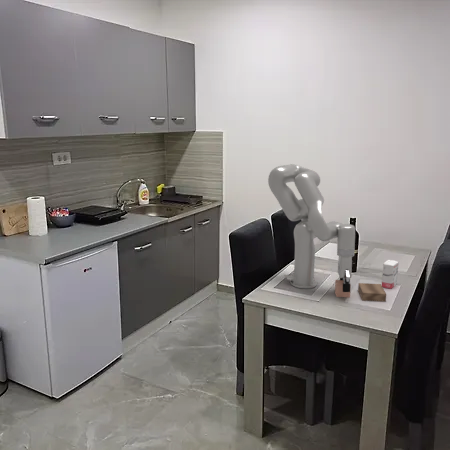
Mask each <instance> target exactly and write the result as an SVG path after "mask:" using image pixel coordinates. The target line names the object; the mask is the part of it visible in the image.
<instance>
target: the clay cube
mask: <svg viewBox="0 0 450 450" xmlns="http://www.w3.org/2000/svg"><path fill="white" fill-rule="evenodd" d="M334 283H335V285H334V293H335V297H336V298H351V288H352V287H351V286H352V285H351V283H350V292H343V283H344V282H343V280H340V279H335V282H334Z"/></svg>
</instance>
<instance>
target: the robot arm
mask: <svg viewBox="0 0 450 450" xmlns="http://www.w3.org/2000/svg"><path fill="white" fill-rule="evenodd" d="M267 180H268V181H267V182H268V184H267V185H268V186H269V190H270V192H271V193H272V194H273V196H274V197H275V199H276V200H277V202H278V204H279V206H280V207H281V209H282V211H283V212H284V215H285V216H286V217H287V219H288V220H290V221H291V222H297V221H300V220H301V221H300V222H298V223H297V224H296V225H295V227H294V229H293V239H294V265H293V268H294V269H293V272H292V274H284V280H287V281H290V285H291V286H292V287H295V288H297V289H313V288H315V287H317V284H318V282H317V281H316V280H315V279H314V277H315V259H316V257H315V255H316V247H315V246H316V245H315V242H314V239H315V238H317V239H318V240H319V241H321V242H329V241H330V240H334V239H337V242H336V243H337V244H336V249H337V250H336V256H338V258H337V259H338V261H337V274H338V278H339V280H343V282H344V283H343V292H350V293H351V290H350V284H351V278H352V273H353V272H352V271H353V269H352V267H353V260H352V259H353V257H355V250H356V249H355V248H356V247H355V246H356V244H355V243H356V227H355V225H354V224H349V223H342V222H337V221H329V222H327V223H326V221H325V219H324V216H323V213H322V208H323V204H324V201H325V199H324V196H323V194H322V193H321V192H320V189H319V187H318V186H319V185H320V184H321V177H320V175H319V173H318V172H316V171H314V170H313V169H309V168H307V167H304V166H300V165H298V164H293V163H292V164H291V163H290V164H285V165H279V166H276V167H274V168H272V170H271V171H270V172H269V174H268V178H267ZM292 182H293V183H294V185H295V187H296V190H297V191H298V193H299V195H300V197H301V198H300V199H298V197H297V196H296V195H295V193H294V191H293V190H292V189H291V188H290V187H289V186H288V185H287V184H288V183H292Z"/></svg>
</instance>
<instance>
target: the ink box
mask: <svg viewBox="0 0 450 450" xmlns="http://www.w3.org/2000/svg"><path fill="white" fill-rule="evenodd" d="M399 262H400V261H397V260H394V259H387V260H386V261H385V262H383V265H382V266H383V267H382V278H381V286H382V287H383V289H384V288H385V289H390V290H392V289H393V288H394V287H395V286H396V285H397V283H398V273H399V264H400V263H399Z"/></svg>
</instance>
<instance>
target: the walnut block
mask: <svg viewBox="0 0 450 450" xmlns="http://www.w3.org/2000/svg"><path fill="white" fill-rule="evenodd" d="M357 291H358V293H359V295H360V299H361V300H362V301H365V302H366V301H367V302H368V301H369V302H383V303H385V302H387V292H386V291H385V289H384V287H382V283H369V282H368V283H364V282H359V283H358V285H357Z"/></svg>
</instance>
